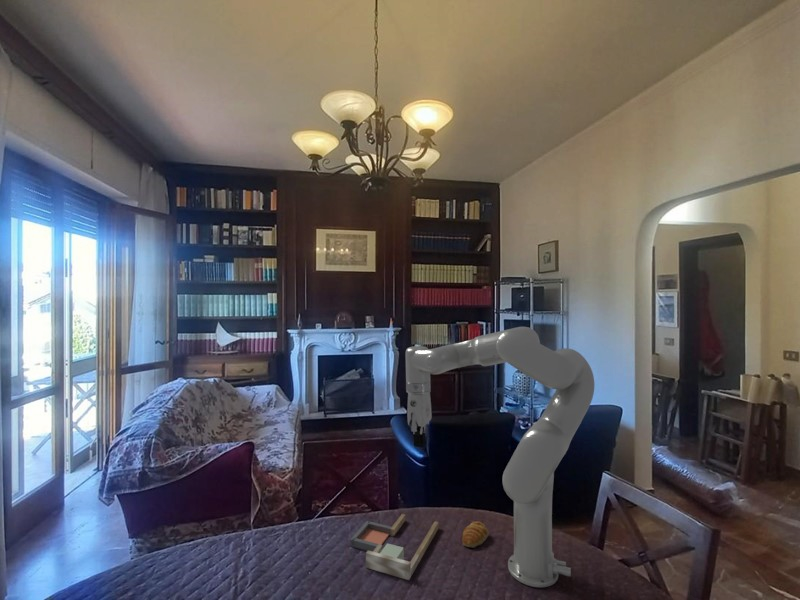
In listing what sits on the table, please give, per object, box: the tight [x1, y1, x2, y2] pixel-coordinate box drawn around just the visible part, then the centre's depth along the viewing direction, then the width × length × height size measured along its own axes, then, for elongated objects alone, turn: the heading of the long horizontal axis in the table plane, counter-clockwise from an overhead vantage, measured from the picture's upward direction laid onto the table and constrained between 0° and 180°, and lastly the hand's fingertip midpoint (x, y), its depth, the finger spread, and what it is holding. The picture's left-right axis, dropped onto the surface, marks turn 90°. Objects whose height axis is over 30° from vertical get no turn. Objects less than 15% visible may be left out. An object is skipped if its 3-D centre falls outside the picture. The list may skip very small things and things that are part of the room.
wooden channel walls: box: [365, 513, 440, 581], centre depth 118 cm, size 12×25×4 cm, turn 157°
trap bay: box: [349, 520, 392, 552], centre depth 121 cm, size 9×10×2 cm
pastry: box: [461, 521, 490, 549], centre depth 120 cm, size 9×7×4 cm
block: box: [380, 542, 405, 560], centre depth 110 cm, size 5×5×4 cm
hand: (419, 445), depth 126 cm, fingers closed
